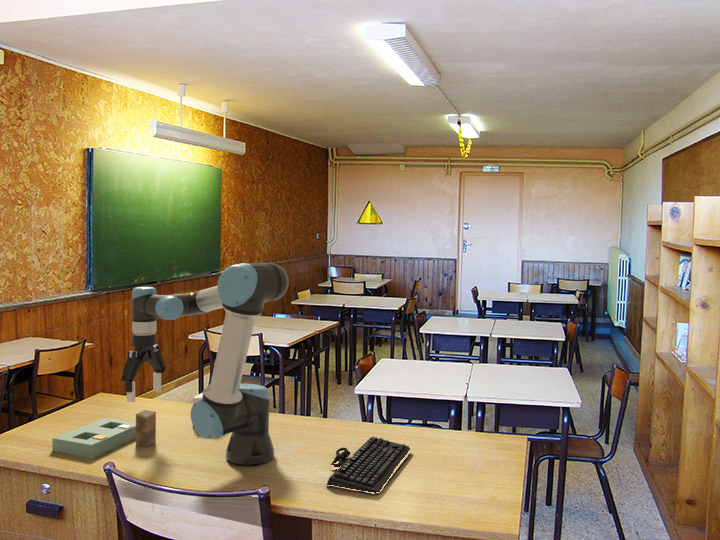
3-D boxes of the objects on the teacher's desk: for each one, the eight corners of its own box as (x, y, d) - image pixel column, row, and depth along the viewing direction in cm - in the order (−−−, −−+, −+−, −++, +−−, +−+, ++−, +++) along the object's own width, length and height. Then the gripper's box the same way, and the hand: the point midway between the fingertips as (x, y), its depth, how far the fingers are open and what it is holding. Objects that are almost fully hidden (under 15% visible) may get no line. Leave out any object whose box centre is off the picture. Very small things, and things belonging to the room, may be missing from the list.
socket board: (142, 435, 220) (142, 422, 220) (92, 458, 198) (92, 443, 197) (105, 429, 226) (105, 416, 225) (52, 451, 203) (52, 437, 203)
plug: (155, 443, 213) (155, 411, 212) (147, 448, 209) (147, 415, 208) (144, 441, 214) (144, 410, 214) (135, 446, 210) (135, 413, 209)
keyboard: (378, 497, 176) (378, 481, 175) (306, 484, 183) (306, 469, 183) (412, 454, 210) (413, 440, 210) (351, 445, 217) (351, 431, 217)
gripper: (158, 327, 222) (158, 386, 223) (108, 338, 198) (109, 404, 199) (176, 328, 219) (176, 388, 221) (128, 340, 196) (128, 407, 197)
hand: (144, 396), depth 210 cm, fingers open, 13 cm apart
